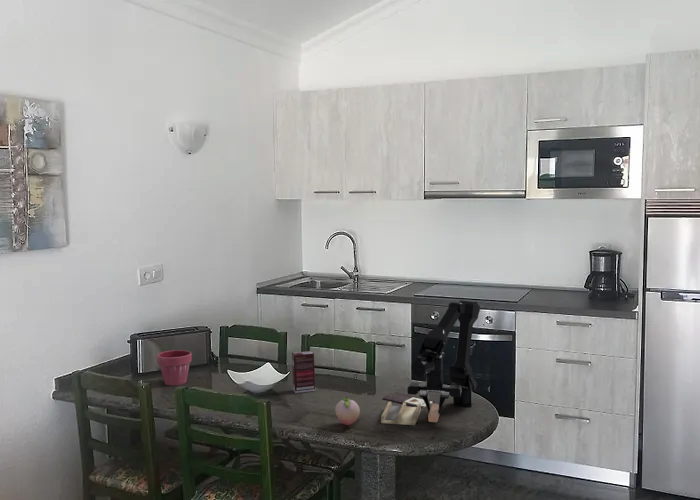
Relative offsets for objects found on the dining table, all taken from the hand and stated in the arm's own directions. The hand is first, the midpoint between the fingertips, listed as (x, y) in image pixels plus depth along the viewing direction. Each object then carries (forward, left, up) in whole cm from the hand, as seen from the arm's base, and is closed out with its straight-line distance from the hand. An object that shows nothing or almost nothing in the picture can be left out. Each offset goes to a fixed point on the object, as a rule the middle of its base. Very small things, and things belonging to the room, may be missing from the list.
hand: (434, 413), depth 241 cm
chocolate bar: (+12, -18, -3) cm, 22 cm away
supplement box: (+56, -23, -2) cm, 61 cm away
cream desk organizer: (+12, 0, -2) cm, 12 cm away
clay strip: (0, 0, -1) cm, 1 cm away
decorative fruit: (+29, +12, -2) cm, 31 cm away
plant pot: (+114, -24, -2) cm, 117 cm away
